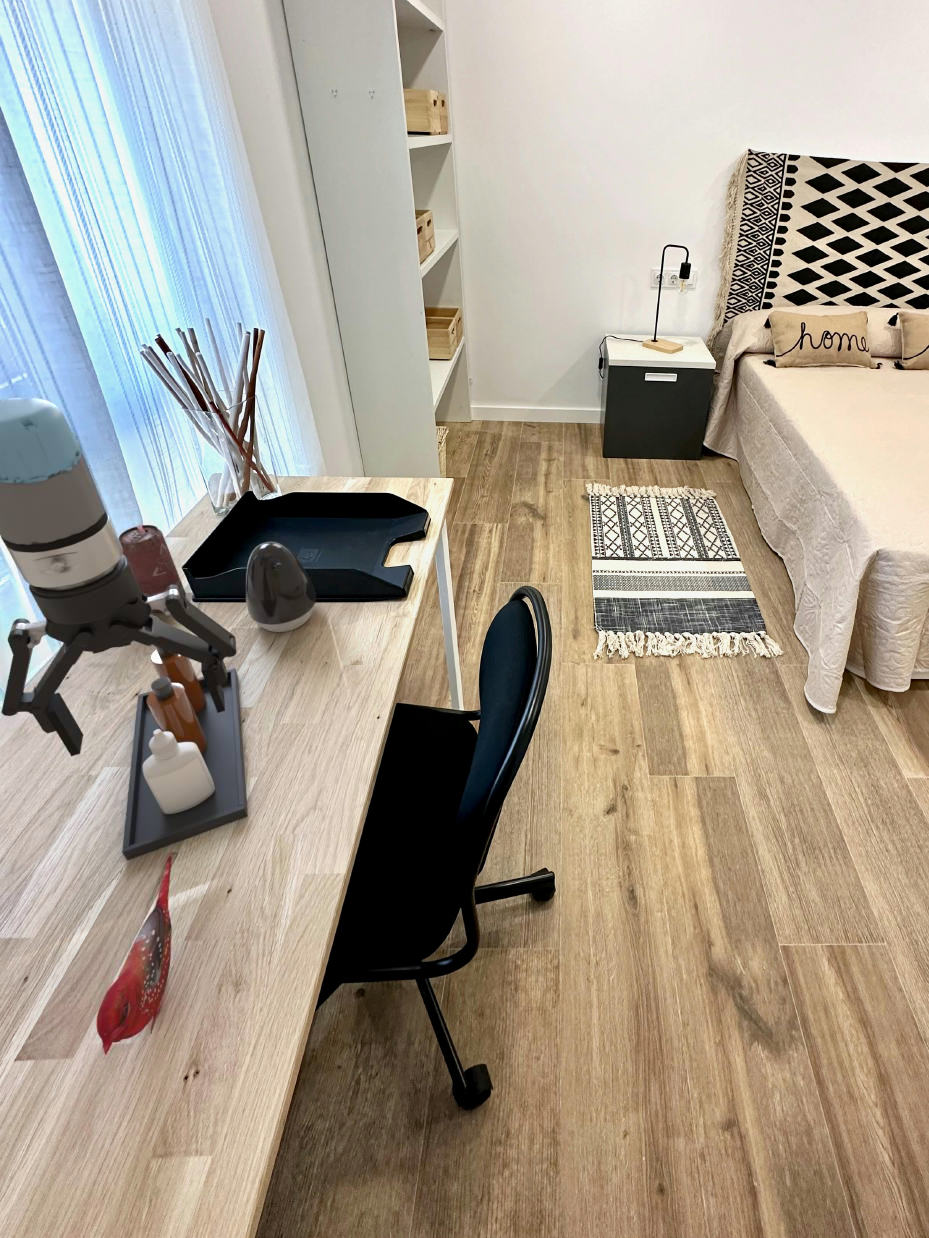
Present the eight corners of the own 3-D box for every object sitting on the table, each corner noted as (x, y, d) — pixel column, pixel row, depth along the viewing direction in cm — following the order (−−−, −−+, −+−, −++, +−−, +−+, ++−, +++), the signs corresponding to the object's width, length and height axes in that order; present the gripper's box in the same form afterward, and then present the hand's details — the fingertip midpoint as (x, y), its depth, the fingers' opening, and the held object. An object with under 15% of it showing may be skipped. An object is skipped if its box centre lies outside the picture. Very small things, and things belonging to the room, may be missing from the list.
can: (181, 585, 112) (155, 518, 104) (190, 604, 108) (163, 535, 100) (142, 599, 109) (112, 530, 101) (149, 618, 104) (119, 548, 97)
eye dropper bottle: (207, 812, 75) (175, 745, 69) (156, 816, 74) (120, 749, 68) (220, 780, 79) (191, 714, 72) (172, 784, 78) (138, 717, 72)
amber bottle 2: (173, 742, 83) (142, 677, 77) (207, 732, 85) (179, 667, 78) (172, 766, 80) (139, 700, 74) (207, 754, 82) (178, 688, 75)
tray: (143, 705, 89) (138, 694, 88) (238, 677, 94) (234, 667, 93) (128, 863, 70) (121, 852, 69) (249, 819, 75) (244, 808, 74)
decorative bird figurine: (120, 1097, 54) (73, 1049, 48) (173, 890, 68) (141, 836, 63) (158, 1086, 54) (116, 1037, 49) (202, 883, 69) (174, 829, 63)
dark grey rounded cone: (265, 651, 99) (240, 573, 91) (246, 617, 105) (221, 541, 97) (330, 625, 104) (312, 548, 96) (307, 593, 111) (289, 520, 103)
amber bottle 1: (174, 700, 89) (146, 636, 83) (206, 691, 91) (180, 627, 84) (174, 720, 86) (144, 656, 80) (206, 711, 88) (180, 646, 81)
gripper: (-118, 631, 50) (2, 794, 62) (229, 558, 60) (277, 710, 72) (-87, 578, 56) (18, 737, 67) (226, 519, 66) (271, 666, 77)
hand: (152, 723), depth 70 cm, fingers open, 13 cm apart
